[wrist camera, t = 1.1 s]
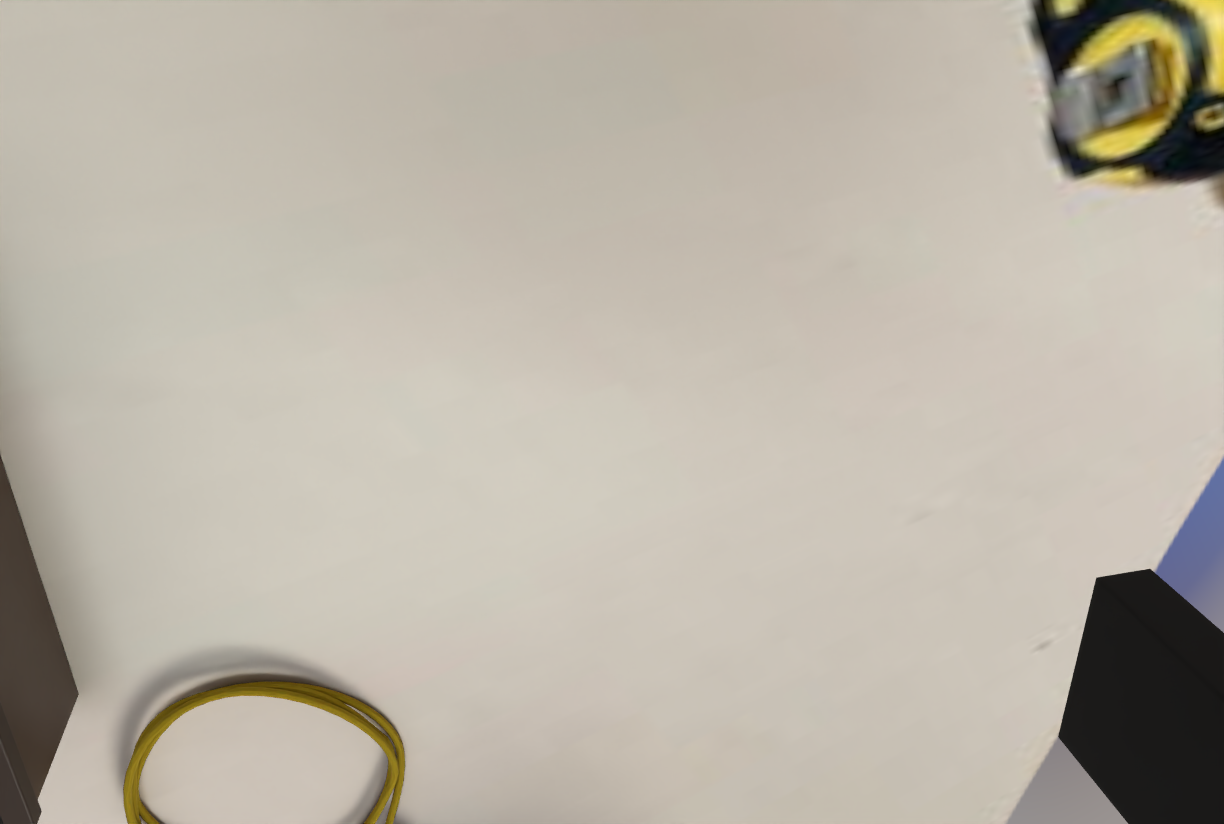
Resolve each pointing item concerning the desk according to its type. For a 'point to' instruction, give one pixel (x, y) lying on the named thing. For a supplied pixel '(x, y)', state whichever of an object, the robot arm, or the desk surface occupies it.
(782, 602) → the desk surface
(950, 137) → the desk surface
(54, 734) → the square shelf
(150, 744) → the extension cord
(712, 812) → the desk surface
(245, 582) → the desk surface
